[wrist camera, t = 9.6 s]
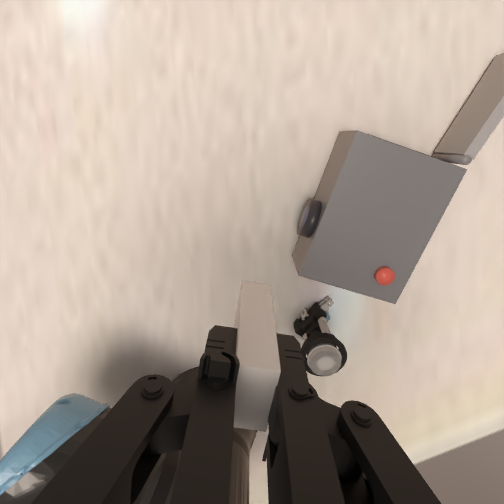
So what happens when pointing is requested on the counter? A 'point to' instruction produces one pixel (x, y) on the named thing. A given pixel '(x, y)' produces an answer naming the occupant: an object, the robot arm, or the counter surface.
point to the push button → (319, 341)
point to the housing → (372, 215)
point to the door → (475, 118)
